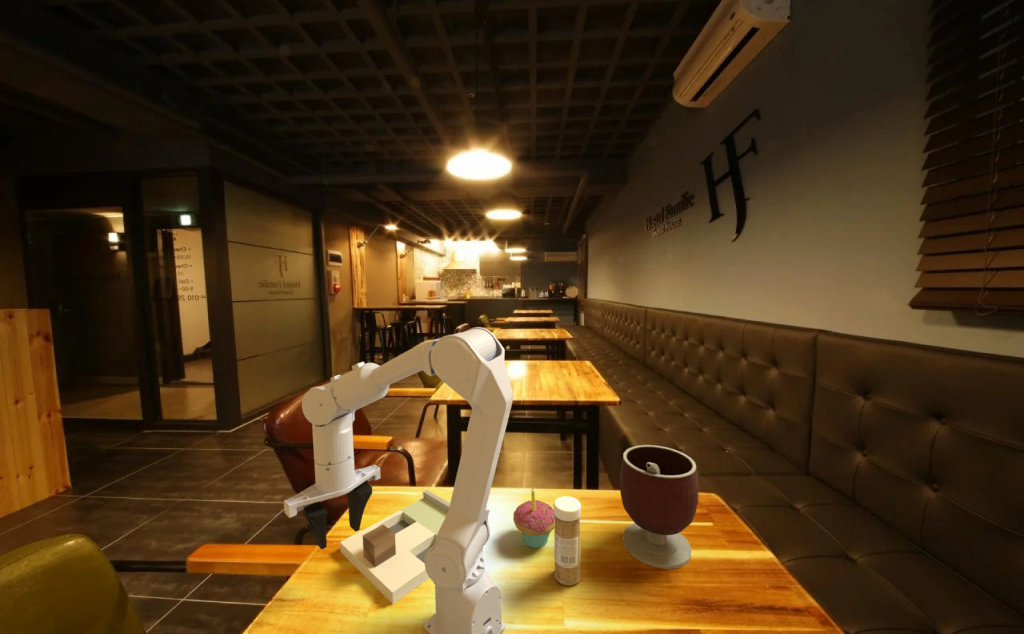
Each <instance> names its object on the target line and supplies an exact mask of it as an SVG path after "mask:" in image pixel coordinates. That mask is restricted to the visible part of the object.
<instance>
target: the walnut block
mask: <svg viewBox="0 0 1024 634" xmlns="http://www.w3.org/2000/svg"><path fill="white" fill-rule="evenodd" d="M363 554H364V557H365V558H366V559H367V560H368V561H369V562H370V563H371V564H372V565H373V566H374V567H377V566H378V565H380V564H381V563H383V562H385V561H386V560H388V559H389V558H391V557H393V556H394V555H396V545H395V533H394V532H392V531H391V530H390V529H388V528H387V527H386V526H385V525H381V526H379V527H377V528H375V529H374V530H372V531H370V532H368V533H366V534H364V535H363Z"/></svg>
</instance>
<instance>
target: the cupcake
mask: <svg viewBox="0 0 1024 634" xmlns="http://www.w3.org/2000/svg"><path fill="white" fill-rule="evenodd" d="M530 491H531V493H530V494H531V500H527V501H524V502H523V503H520V504H519V505H518V506H517V507H516V509H515V510H514V511H513V513H512V514H513V517H512V519H513V523H514V526H515V528H516V529H517V531H519V532H520V534H521V536H522V539H523V542H524V544H525V545H526V546H528V547H530V548H535V549H536V548H541V547H543V546H546V544H547V543H548V540H549V536H550V534H551V532H552V531H553V530H555V516H554V508H553V507H552V506H551V505H549V503H546V502H543V501H542V500H537V499H536V490H535V489H534V487H533V486H532V488H531V490H530Z"/></svg>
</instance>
